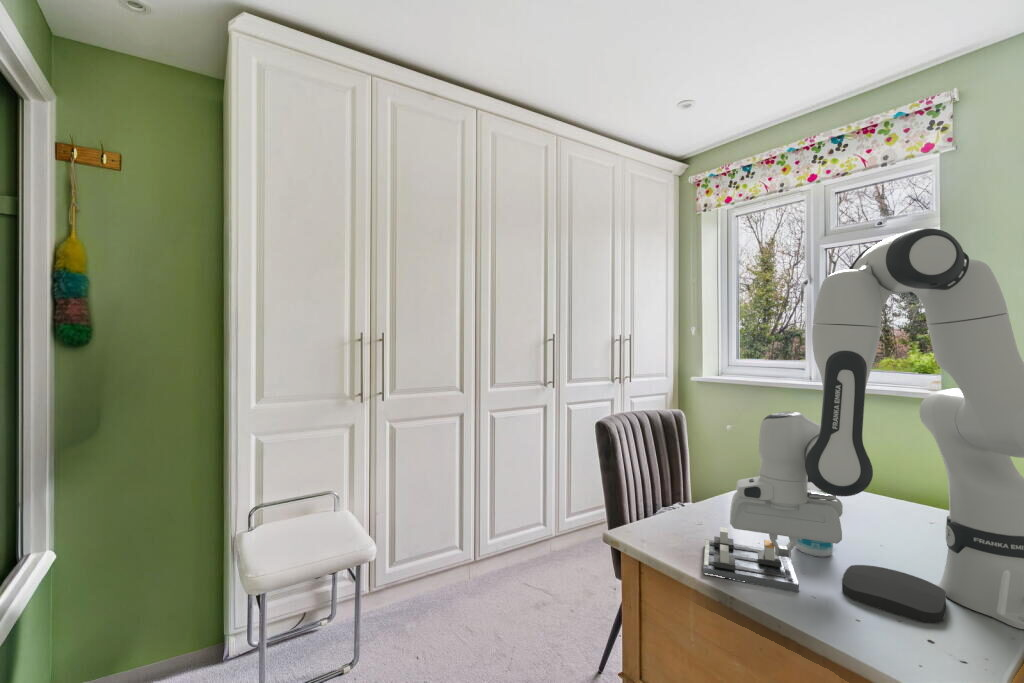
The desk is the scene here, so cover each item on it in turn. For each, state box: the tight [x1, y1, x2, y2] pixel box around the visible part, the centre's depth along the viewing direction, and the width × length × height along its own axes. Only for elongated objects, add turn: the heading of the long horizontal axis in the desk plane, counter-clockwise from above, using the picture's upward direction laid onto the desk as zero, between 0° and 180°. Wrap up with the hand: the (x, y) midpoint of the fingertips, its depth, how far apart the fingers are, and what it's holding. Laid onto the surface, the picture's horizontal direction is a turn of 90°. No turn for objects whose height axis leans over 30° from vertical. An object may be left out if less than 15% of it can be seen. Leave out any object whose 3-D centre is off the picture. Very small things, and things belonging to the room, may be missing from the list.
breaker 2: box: [714, 544, 735, 570], centre depth 97 cm, size 4×4×4 cm
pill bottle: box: [795, 490, 834, 558], centre depth 108 cm, size 8×7×14 cm
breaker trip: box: [758, 539, 781, 567], centre depth 99 cm, size 4×4×4 cm
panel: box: [702, 539, 800, 593], centre depth 100 cm, size 17×16×2 cm
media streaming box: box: [841, 564, 947, 625], centre depth 88 cm, size 15×15×3 cm
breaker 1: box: [713, 526, 735, 550], centre depth 107 cm, size 4×4×4 cm
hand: (783, 555), depth 98 cm, fingers closed
